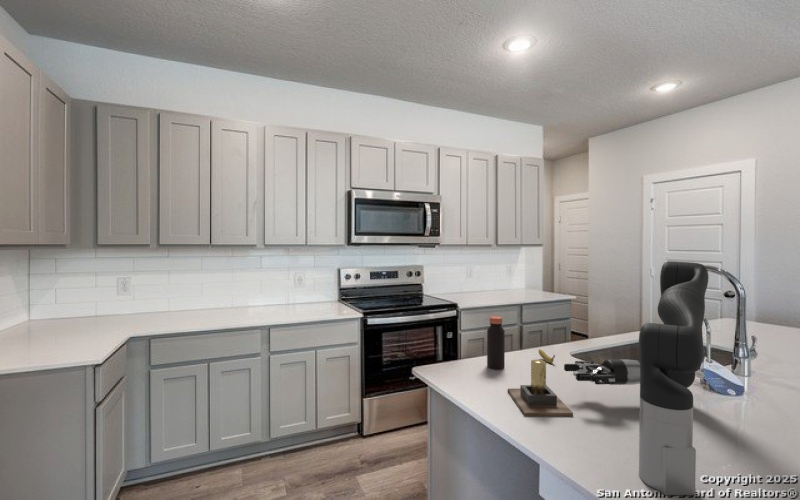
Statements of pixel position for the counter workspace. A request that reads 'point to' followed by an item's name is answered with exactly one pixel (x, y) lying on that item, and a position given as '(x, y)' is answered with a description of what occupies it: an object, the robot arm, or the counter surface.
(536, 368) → the post
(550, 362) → the banana
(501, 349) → the bottle
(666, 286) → the robot arm
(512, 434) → the counter surface
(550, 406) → the mounting plate
